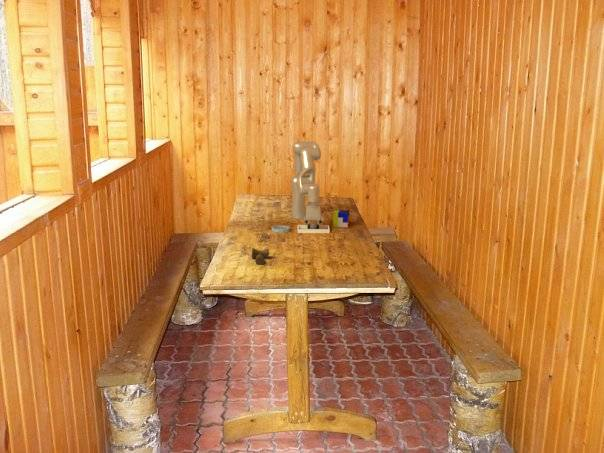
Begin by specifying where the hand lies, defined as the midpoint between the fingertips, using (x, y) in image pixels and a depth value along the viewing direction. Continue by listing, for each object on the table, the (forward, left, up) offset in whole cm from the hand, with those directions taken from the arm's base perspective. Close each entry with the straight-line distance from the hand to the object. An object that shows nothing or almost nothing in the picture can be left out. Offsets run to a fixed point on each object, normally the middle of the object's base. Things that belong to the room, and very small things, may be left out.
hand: (313, 229), depth 398 cm
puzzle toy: (-17, +20, -1) cm, 26 cm away
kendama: (+70, -31, -1) cm, 77 cm away
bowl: (0, -22, -1) cm, 22 cm away
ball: (0, 0, -1) cm, 1 cm away
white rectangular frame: (0, 0, -1) cm, 1 cm away
